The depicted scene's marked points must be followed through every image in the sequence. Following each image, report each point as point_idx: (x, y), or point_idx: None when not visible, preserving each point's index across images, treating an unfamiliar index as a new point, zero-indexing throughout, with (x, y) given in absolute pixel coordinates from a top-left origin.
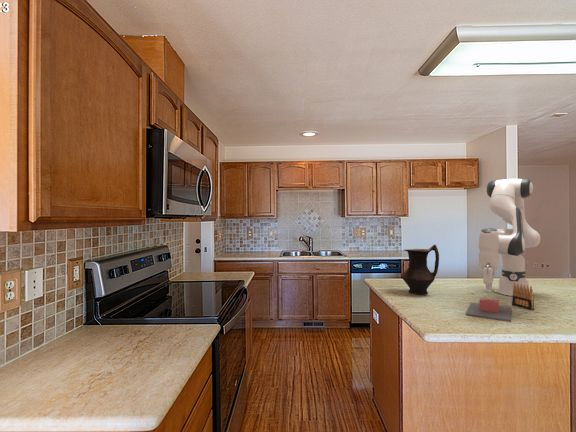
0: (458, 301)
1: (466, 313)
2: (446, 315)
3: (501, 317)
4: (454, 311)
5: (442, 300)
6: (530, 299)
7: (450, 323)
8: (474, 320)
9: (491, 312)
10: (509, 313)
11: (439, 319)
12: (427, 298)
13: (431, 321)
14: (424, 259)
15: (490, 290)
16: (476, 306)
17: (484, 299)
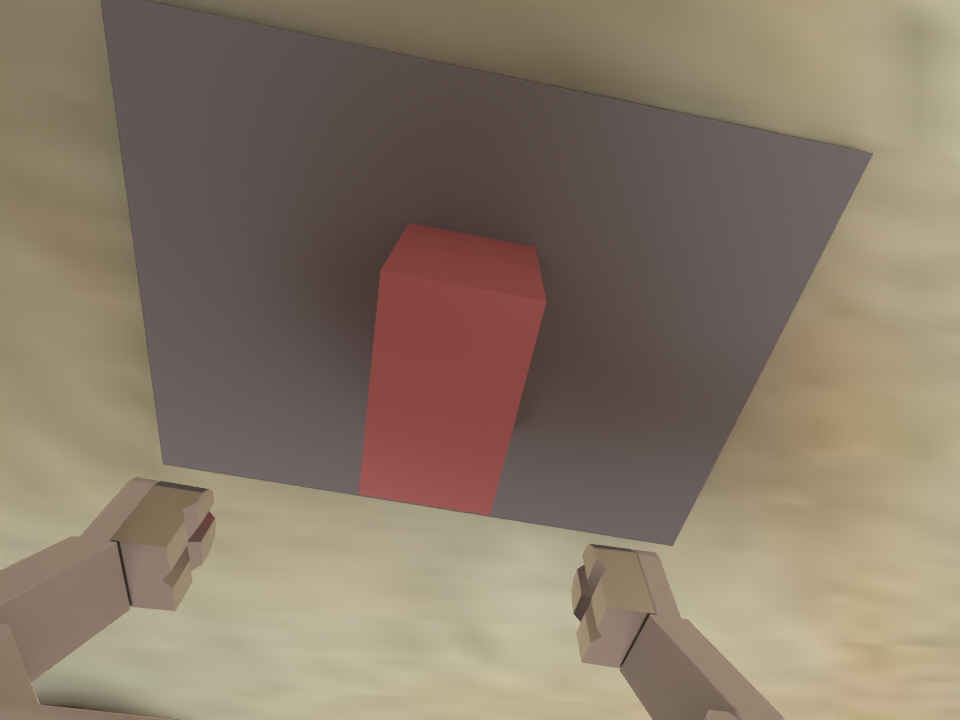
0: None
1: (667, 540)
2: None
3: (763, 249)
4: (557, 590)
5: (198, 636)
6: None
7: (935, 634)
8: (833, 489)
9: (546, 323)
10: (520, 100)
11: (829, 678)
12: (203, 709)
13: (886, 712)
14: None
15: (664, 578)
16: (328, 435)
17: (418, 456)
